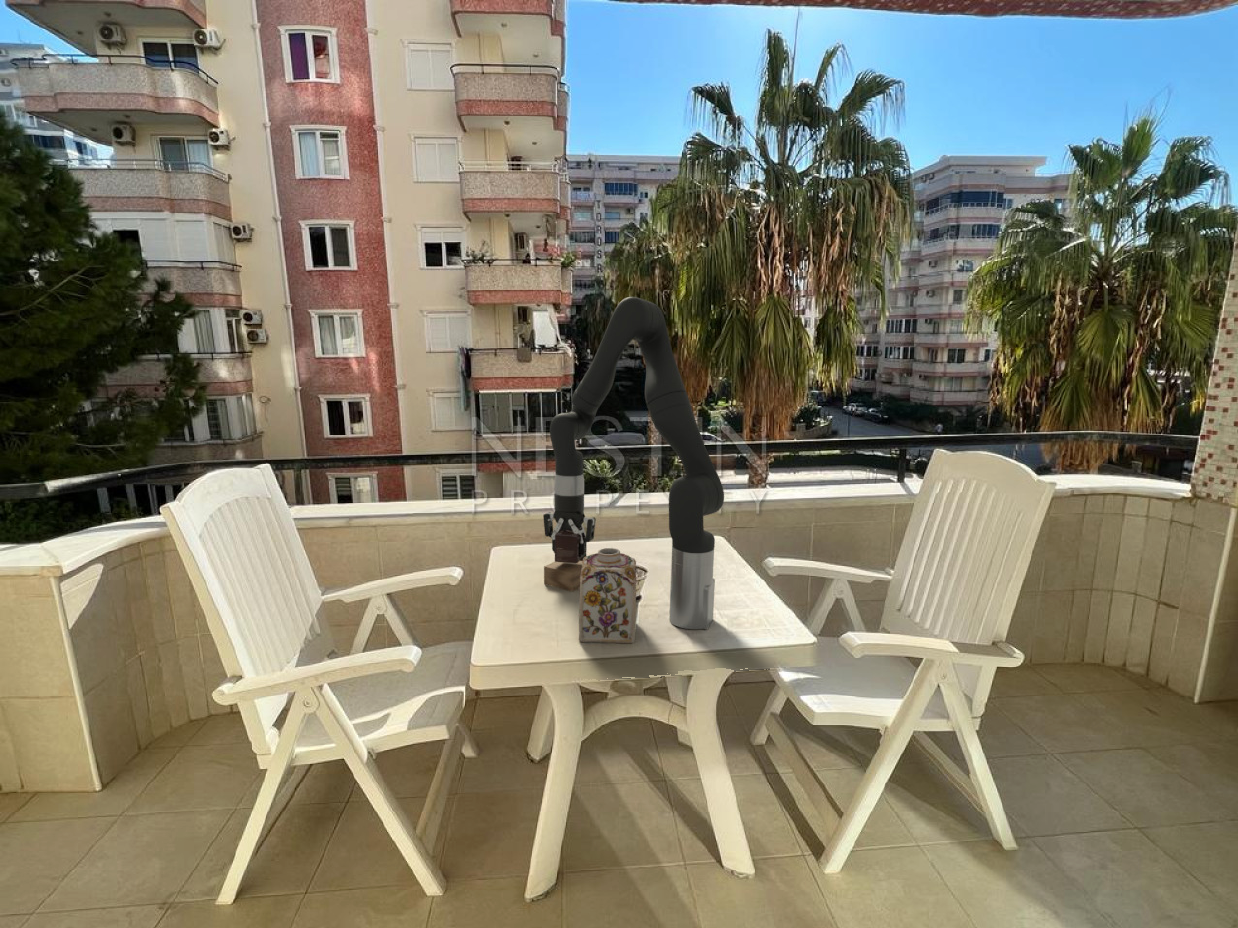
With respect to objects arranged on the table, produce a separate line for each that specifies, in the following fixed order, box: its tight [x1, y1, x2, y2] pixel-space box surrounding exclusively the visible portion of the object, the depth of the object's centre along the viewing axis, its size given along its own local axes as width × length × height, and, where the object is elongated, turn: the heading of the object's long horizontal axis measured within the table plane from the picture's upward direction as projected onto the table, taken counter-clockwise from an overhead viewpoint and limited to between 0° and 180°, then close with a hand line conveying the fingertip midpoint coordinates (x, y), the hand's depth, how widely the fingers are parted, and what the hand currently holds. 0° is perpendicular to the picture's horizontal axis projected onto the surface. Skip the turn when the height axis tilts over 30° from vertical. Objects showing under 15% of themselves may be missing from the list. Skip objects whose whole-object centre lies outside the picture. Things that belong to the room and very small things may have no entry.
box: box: [554, 530, 582, 563], centre depth 153 cm, size 6×6×7 cm
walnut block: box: [543, 561, 582, 593], centre depth 154 cm, size 9×9×5 cm
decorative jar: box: [578, 547, 637, 644], centre depth 126 cm, size 12×12×18 cm
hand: (569, 554), depth 153 cm, fingers closed on box, 6 cm apart
